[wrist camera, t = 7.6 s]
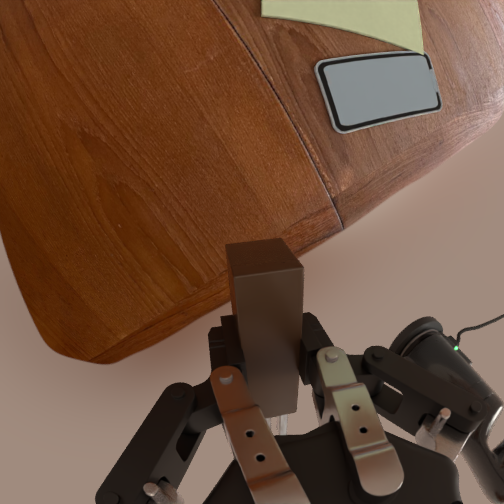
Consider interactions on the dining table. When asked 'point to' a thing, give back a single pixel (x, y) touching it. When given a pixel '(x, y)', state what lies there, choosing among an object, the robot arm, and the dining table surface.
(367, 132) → the dining table surface
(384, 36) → the placemat
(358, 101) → the smartphone
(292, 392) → the fork
